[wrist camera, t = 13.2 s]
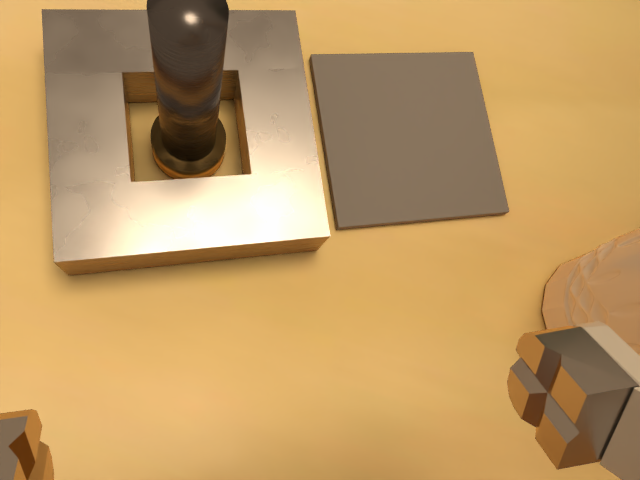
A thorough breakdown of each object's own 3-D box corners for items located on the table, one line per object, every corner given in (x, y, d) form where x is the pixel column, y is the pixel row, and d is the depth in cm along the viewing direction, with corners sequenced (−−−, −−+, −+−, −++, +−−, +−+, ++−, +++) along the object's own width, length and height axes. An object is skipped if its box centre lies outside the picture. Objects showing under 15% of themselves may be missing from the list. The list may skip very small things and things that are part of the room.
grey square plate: (469, 56, 35) (472, 52, 34) (504, 214, 32) (509, 211, 32) (309, 59, 32) (311, 54, 32) (336, 229, 30) (338, 227, 30)
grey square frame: (285, 43, 32) (295, 10, 29) (317, 250, 30) (330, 236, 27) (56, 45, 29) (41, 9, 26) (68, 275, 27) (54, 262, 24)
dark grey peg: (236, 139, 30) (263, -1, 19) (202, 194, 29) (209, 79, 18) (175, 104, 30) (168, -57, 19) (139, 159, 29) (107, 20, 18)
